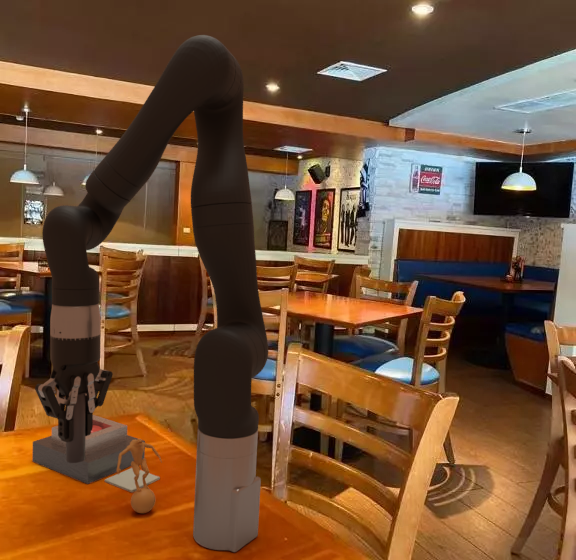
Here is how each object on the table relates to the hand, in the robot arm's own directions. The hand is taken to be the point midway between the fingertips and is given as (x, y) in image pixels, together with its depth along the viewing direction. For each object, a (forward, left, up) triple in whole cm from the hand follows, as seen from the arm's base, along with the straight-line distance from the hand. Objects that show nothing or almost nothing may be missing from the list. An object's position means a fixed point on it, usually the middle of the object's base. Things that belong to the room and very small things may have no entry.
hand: (75, 437), depth 95 cm
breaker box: (+14, -15, -13) cm, 24 cm away
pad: (+1, -14, -13) cm, 19 cm away
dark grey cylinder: (0, 0, -4) cm, 4 cm away
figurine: (-8, -7, -13) cm, 17 cm away
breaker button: (+14, -15, -11) cm, 23 cm away
